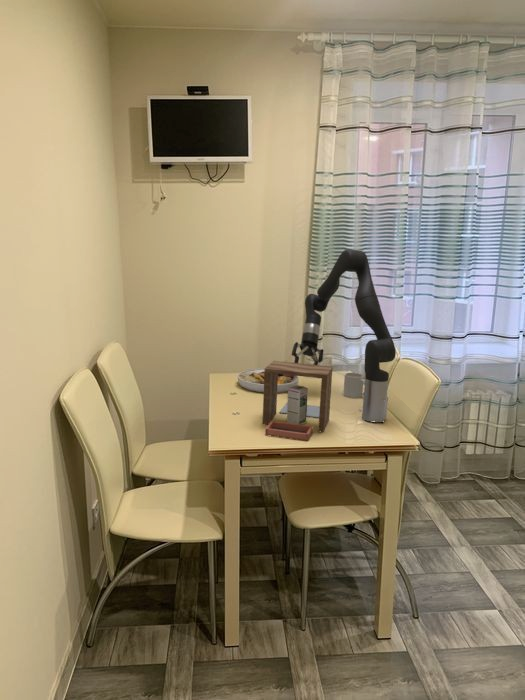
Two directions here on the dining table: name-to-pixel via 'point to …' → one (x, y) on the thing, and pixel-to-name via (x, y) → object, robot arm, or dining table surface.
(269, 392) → the walnut tunnel
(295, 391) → the syrup box
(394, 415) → the dining table surface
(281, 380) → the bowl
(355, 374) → the mug
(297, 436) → the tray
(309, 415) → the pad
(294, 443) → the dining table surface
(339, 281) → the robot arm
